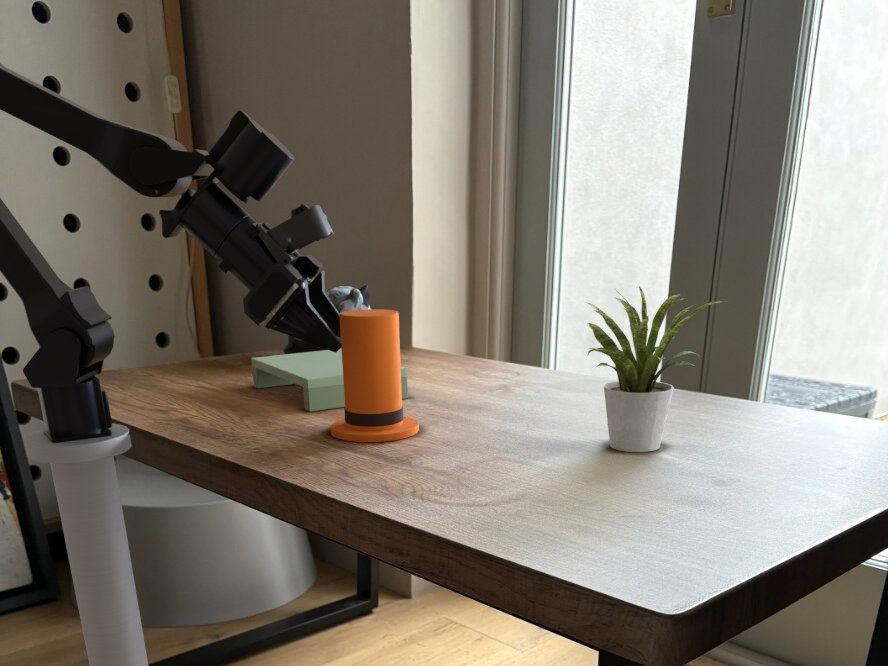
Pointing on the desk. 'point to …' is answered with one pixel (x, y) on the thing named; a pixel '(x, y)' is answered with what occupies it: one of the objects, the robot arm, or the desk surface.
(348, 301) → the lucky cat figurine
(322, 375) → the shelf
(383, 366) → the hat
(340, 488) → the desk surface
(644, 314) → the house plant
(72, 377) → the robot arm
